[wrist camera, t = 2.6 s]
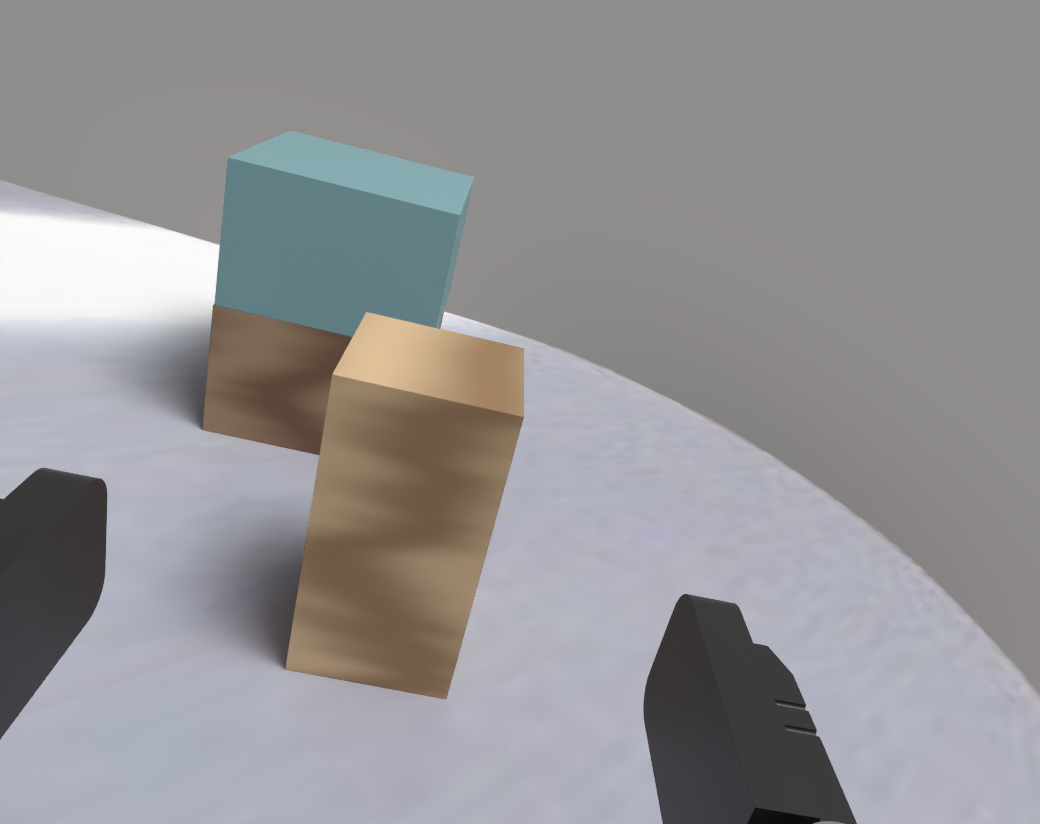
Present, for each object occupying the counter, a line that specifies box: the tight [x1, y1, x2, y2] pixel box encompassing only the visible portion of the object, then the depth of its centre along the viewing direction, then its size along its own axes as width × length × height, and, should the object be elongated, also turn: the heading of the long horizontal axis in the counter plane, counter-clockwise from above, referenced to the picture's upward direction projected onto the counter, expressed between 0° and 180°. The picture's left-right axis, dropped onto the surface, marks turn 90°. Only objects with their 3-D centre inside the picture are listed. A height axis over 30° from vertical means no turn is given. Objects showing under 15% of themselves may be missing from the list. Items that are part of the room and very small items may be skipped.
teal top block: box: [215, 131, 474, 337], centre depth 37 cm, size 9×9×6 cm
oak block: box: [285, 312, 524, 699], centre depth 25 cm, size 5×5×10 cm
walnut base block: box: [202, 304, 444, 455], centre depth 39 cm, size 9×9×6 cm
